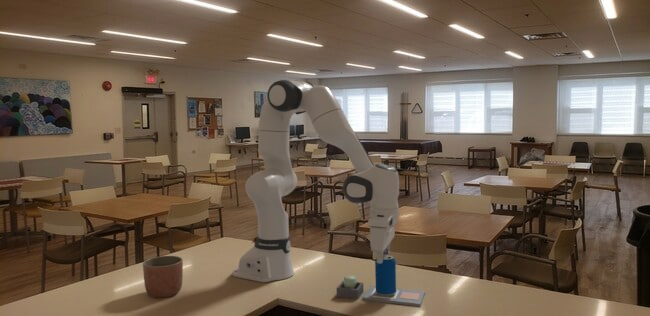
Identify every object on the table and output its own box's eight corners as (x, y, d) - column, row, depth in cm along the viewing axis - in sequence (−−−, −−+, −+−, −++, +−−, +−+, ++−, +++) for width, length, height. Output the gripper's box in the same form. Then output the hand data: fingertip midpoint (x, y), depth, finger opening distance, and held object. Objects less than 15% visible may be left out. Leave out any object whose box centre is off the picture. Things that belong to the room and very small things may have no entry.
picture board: (362, 299, 149) (362, 297, 149) (370, 287, 159) (370, 285, 159) (420, 306, 143) (420, 303, 143) (425, 293, 154) (425, 290, 154)
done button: (342, 289, 152) (342, 279, 152) (346, 285, 156) (345, 275, 156) (354, 291, 151) (354, 280, 151) (357, 286, 155) (357, 276, 155)
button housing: (336, 296, 152) (336, 287, 151) (342, 289, 158) (342, 280, 158) (357, 299, 149) (357, 290, 149) (363, 291, 156) (363, 282, 156)
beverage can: (395, 297, 148) (395, 259, 147) (375, 296, 149) (374, 259, 149) (396, 290, 155) (395, 253, 154) (376, 289, 156) (375, 253, 155)
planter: (191, 288, 161) (190, 257, 160) (167, 302, 149) (166, 268, 148) (160, 285, 165) (159, 254, 164) (135, 298, 153) (134, 264, 152)
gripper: (381, 208, 161) (380, 248, 162) (366, 221, 142) (365, 266, 143) (399, 210, 159) (398, 250, 160) (387, 223, 140) (386, 269, 141)
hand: (383, 258), depth 151 cm, fingers open, 8 cm apart
